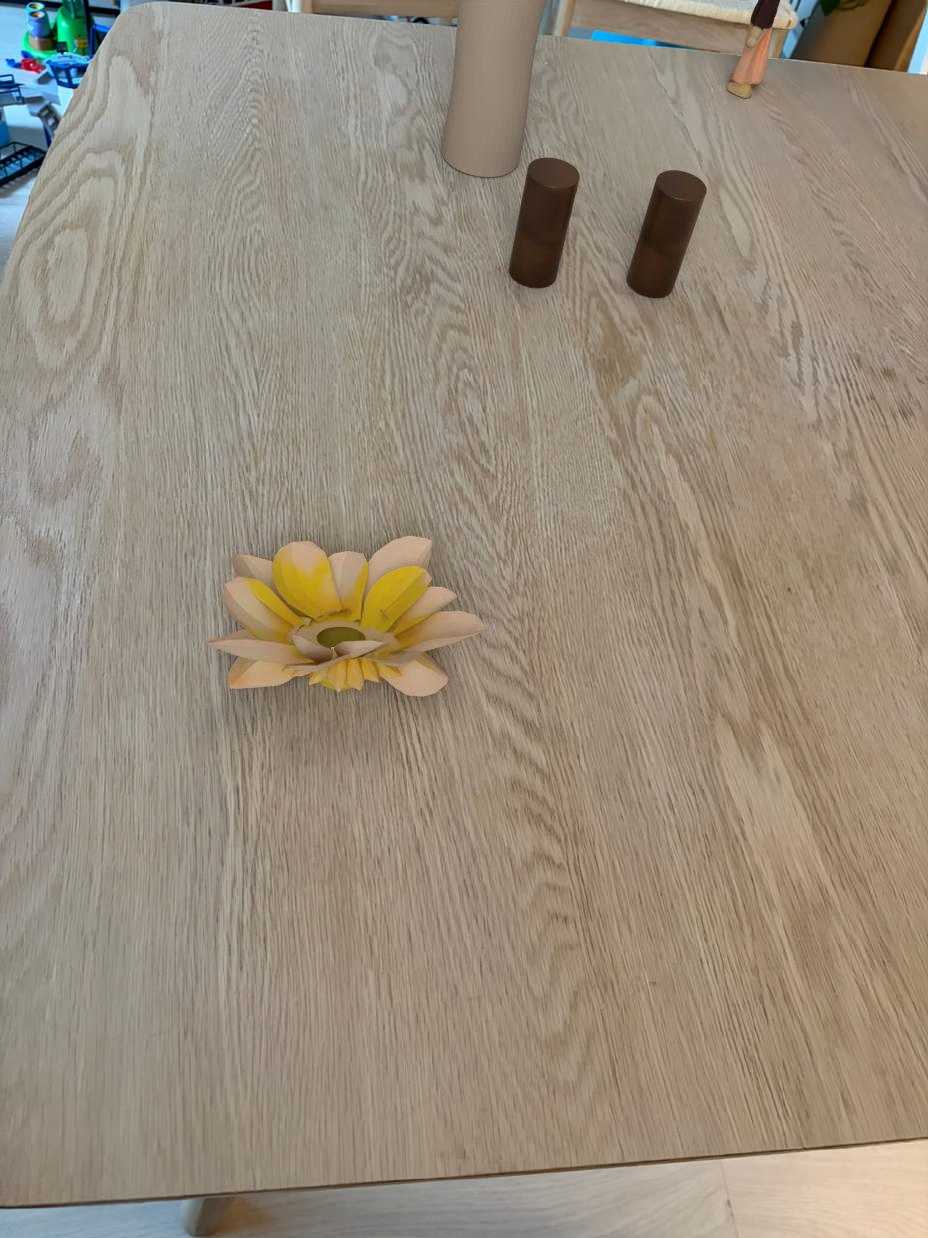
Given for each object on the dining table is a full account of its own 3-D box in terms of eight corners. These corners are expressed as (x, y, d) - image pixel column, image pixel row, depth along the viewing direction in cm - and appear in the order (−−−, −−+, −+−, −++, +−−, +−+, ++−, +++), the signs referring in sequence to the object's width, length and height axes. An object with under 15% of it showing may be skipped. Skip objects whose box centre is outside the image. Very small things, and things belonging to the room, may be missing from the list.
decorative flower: (483, 553, 65) (494, 474, 55) (478, 727, 60) (490, 673, 51) (243, 542, 64) (214, 460, 55) (222, 716, 60) (187, 659, 51)
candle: (531, 105, 100) (574, -134, 84) (514, 184, 92) (558, -64, 76) (458, 91, 100) (487, -152, 84) (435, 168, 92) (462, -84, 76)
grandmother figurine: (760, 106, 106) (808, -28, 95) (723, 98, 106) (768, -36, 95) (759, 70, 110) (805, -61, 100) (724, 62, 110) (767, -69, 100)
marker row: (669, 269, 87) (702, 172, 80) (676, 299, 85) (711, 202, 78) (507, 255, 86) (525, 154, 78) (510, 286, 83) (529, 184, 76)
